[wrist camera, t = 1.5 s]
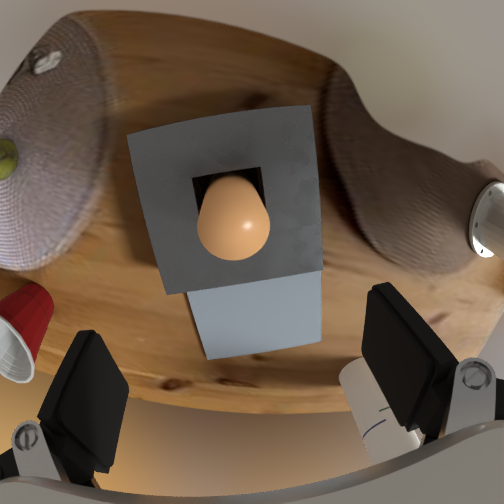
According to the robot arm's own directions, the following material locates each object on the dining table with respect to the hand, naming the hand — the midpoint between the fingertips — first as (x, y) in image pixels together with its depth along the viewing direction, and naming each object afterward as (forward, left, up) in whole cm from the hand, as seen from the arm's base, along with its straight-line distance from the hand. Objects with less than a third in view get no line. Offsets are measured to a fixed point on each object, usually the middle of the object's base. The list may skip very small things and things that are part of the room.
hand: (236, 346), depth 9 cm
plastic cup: (+30, +9, -23) cm, 39 cm away
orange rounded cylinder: (0, 0, -23) cm, 23 cm away
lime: (+26, -11, -23) cm, 36 cm away
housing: (0, 0, -23) cm, 23 cm away
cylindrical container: (-16, +32, -23) cm, 43 cm away
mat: (-1, +16, -23) cm, 28 cm away
